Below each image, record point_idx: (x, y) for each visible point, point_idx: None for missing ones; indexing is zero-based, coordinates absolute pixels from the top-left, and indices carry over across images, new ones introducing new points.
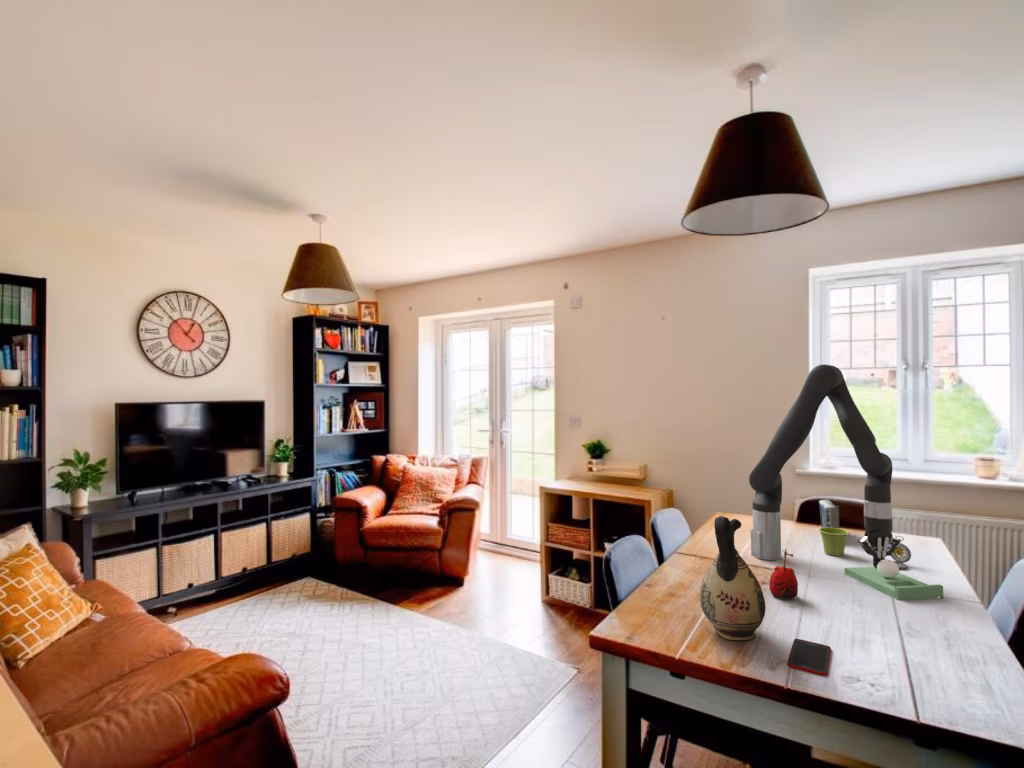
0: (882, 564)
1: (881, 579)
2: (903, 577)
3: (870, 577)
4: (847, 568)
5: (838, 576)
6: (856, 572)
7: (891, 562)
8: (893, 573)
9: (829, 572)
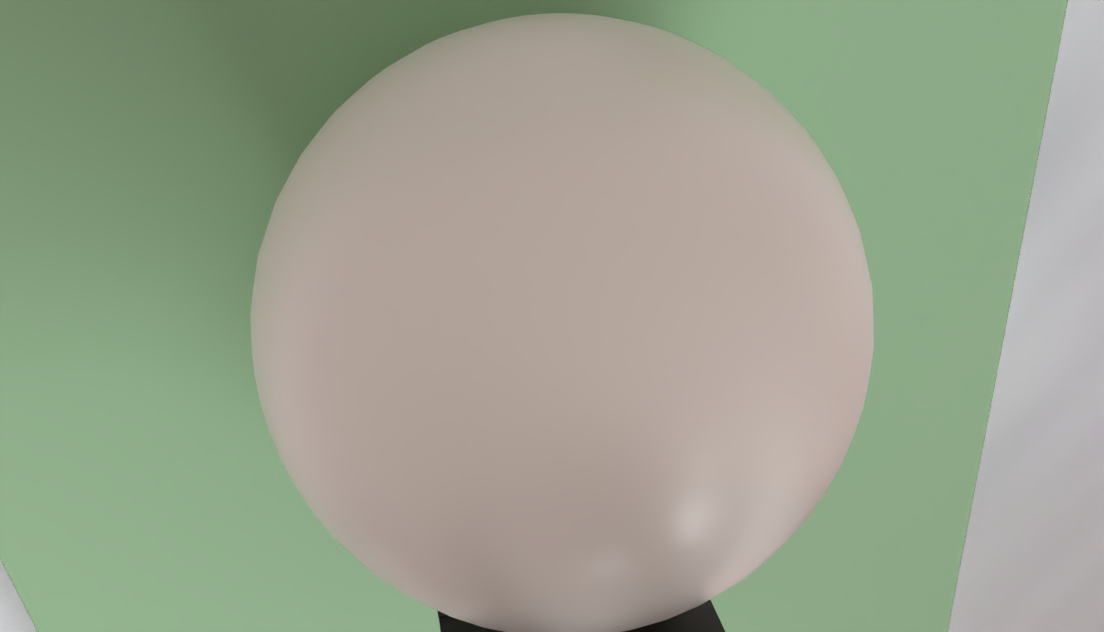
0: (870, 314)
1: (773, 59)
2: (75, 238)
3: (918, 186)
4: (921, 622)
5: (1070, 450)
6: (945, 452)
7: (608, 337)
8: (573, 15)
9: (1050, 587)
